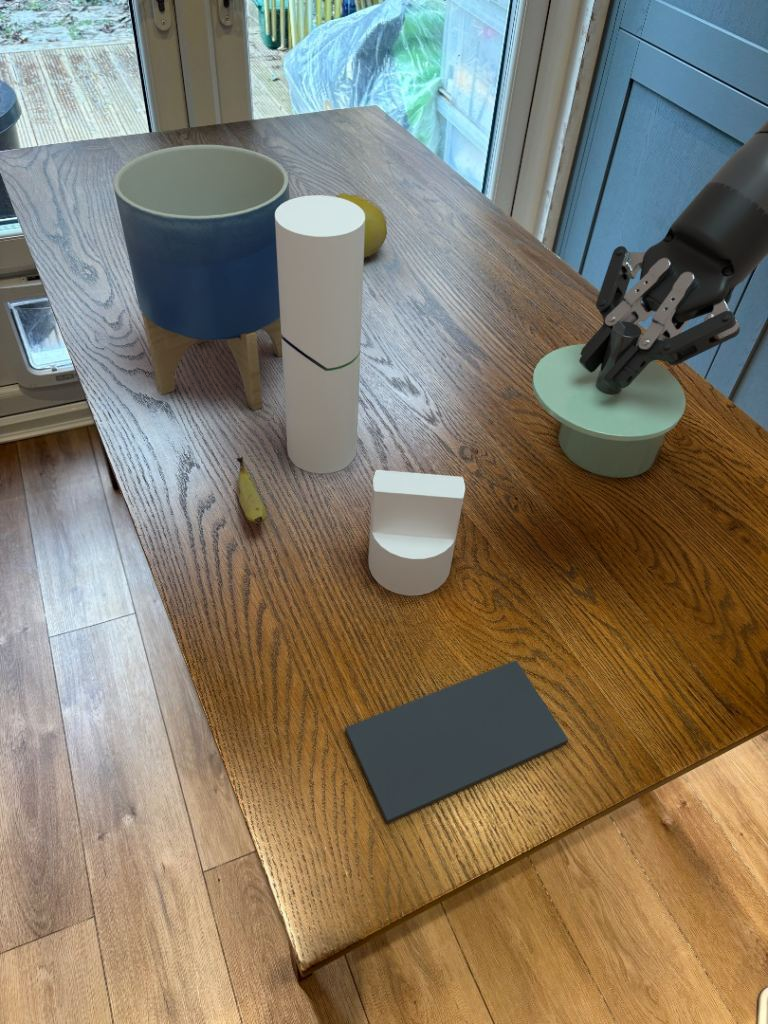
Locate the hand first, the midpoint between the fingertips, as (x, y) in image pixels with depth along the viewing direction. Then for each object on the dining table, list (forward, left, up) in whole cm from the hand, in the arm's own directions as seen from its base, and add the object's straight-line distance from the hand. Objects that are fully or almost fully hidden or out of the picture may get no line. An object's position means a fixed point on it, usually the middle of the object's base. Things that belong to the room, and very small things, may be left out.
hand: (597, 375), depth 65 cm
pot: (-7, -21, -25) cm, 33 cm away
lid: (-1, -1, -3) cm, 3 cm away
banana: (+33, +2, -25) cm, 41 cm away
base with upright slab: (+14, +5, -25) cm, 29 cm away
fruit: (+36, -59, -25) cm, 74 cm away
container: (+28, -10, -25) cm, 39 cm away
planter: (+45, -22, -25) cm, 56 cm away
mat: (+6, +24, -25) cm, 35 cm away
